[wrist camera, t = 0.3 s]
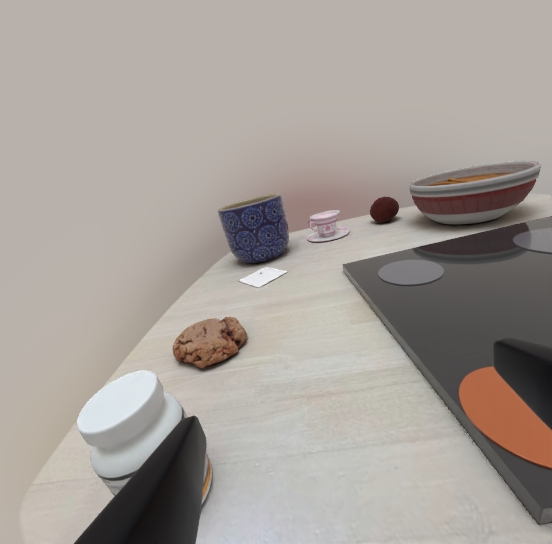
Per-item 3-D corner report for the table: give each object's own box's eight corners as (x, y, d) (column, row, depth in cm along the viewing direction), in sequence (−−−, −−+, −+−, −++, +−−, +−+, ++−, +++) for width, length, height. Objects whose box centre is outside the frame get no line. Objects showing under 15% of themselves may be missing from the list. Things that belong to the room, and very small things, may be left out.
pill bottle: (192, 440, 23) (147, 354, 20) (228, 482, 19) (180, 383, 16) (128, 500, 20) (60, 408, 16) (156, 567, 16) (74, 464, 12)
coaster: (258, 287, 51) (257, 284, 51) (238, 280, 58) (237, 277, 57) (287, 271, 56) (287, 268, 55) (265, 266, 62) (264, 263, 62)
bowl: (499, 238, 46) (504, 181, 43) (391, 229, 66) (388, 189, 62) (556, 204, 55) (563, 154, 52) (445, 205, 75) (445, 169, 71)
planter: (266, 270, 60) (248, 206, 54) (222, 267, 71) (203, 213, 65) (305, 245, 71) (293, 190, 66) (261, 245, 82) (248, 198, 76)
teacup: (339, 226, 80) (336, 207, 78) (357, 234, 69) (354, 211, 67) (302, 237, 79) (298, 217, 77) (314, 246, 68) (310, 223, 66)
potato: (404, 216, 74) (402, 191, 72) (393, 224, 69) (391, 198, 67) (378, 217, 80) (376, 194, 77) (366, 225, 74) (364, 201, 72)
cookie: (187, 333, 42) (180, 318, 40) (250, 319, 41) (245, 303, 40) (163, 380, 32) (153, 361, 31) (245, 363, 32) (237, 343, 31)
